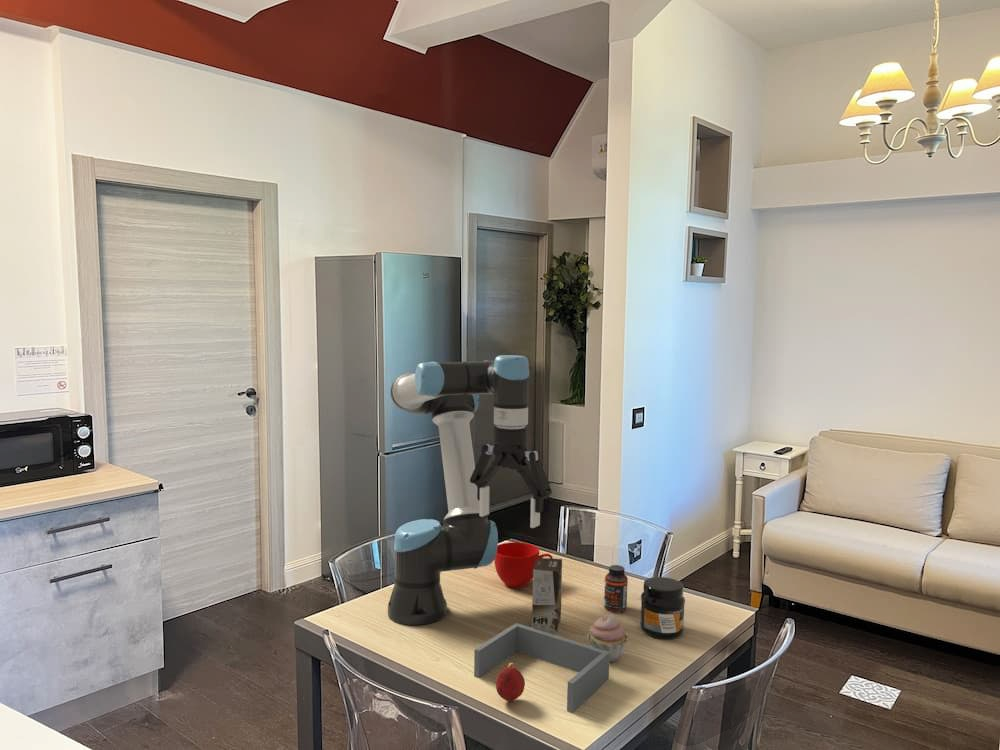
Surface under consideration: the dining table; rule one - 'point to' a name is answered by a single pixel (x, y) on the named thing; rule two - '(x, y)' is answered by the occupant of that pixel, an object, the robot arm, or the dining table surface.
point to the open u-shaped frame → (548, 658)
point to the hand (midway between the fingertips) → (509, 520)
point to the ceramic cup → (516, 563)
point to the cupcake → (608, 637)
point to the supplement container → (662, 608)
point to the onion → (510, 683)
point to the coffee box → (547, 595)
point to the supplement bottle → (615, 589)
